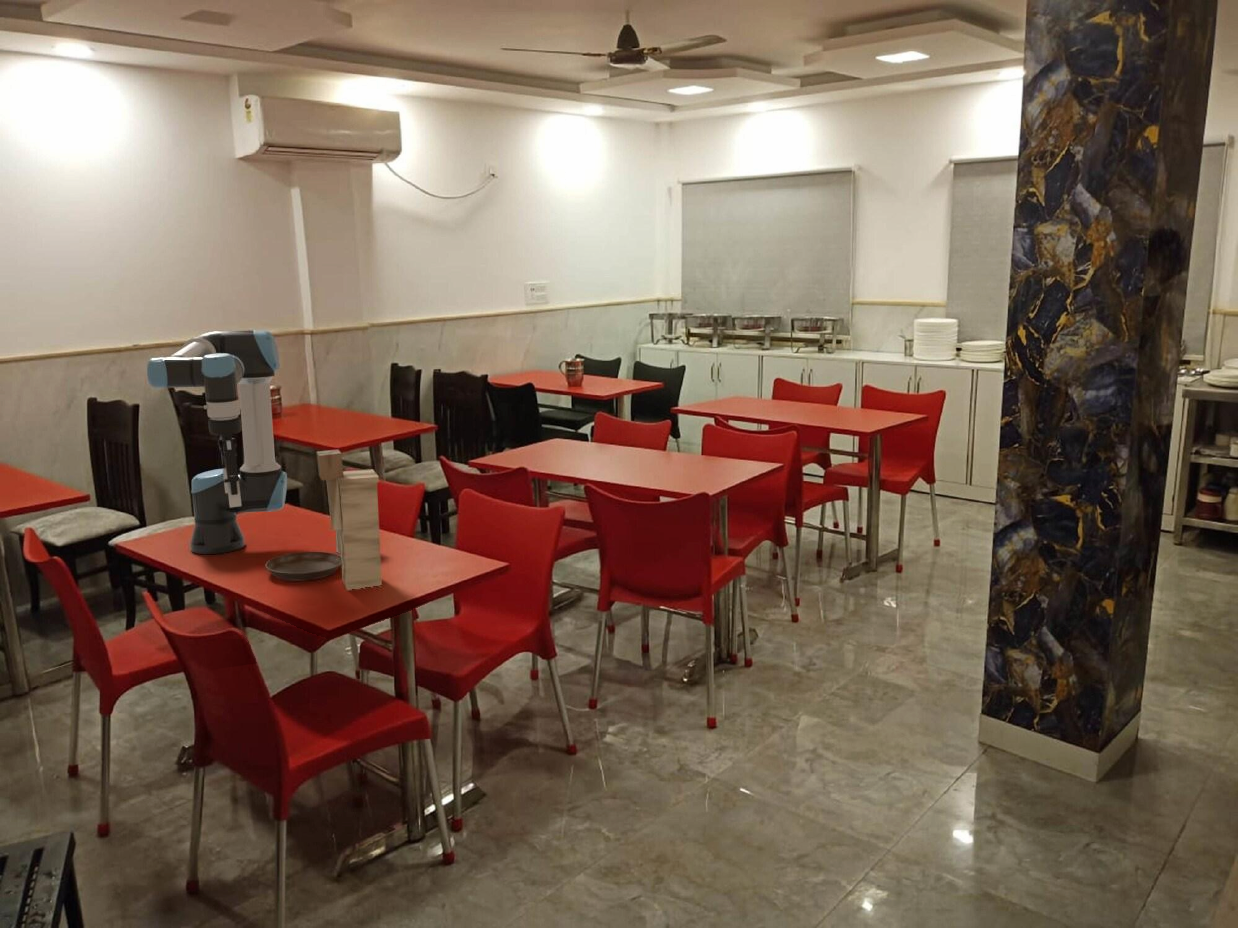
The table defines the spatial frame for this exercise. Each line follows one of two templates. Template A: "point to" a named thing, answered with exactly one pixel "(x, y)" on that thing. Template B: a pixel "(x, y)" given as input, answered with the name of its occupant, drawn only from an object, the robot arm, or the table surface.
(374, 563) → the stand
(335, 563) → the plant saucer
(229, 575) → the table surface
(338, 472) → the mallet
